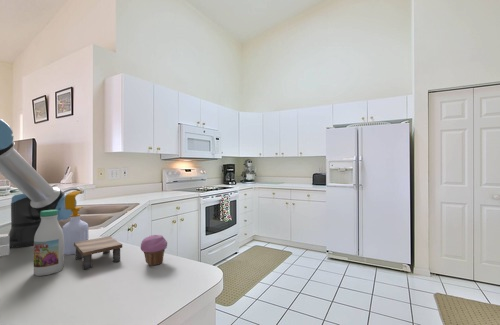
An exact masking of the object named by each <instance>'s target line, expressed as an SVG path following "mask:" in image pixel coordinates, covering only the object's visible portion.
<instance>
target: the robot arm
mask: <svg viewBox="0 0 500 325" xmlns="http://www.w3.org/2000/svg"><path fill="white" fill-rule="evenodd" d="M0 174H1V175H2V176H3V177H4V178H5V179H6V180H8V182H10V183H11V184H12V186H15V187H16V189H17V190H19V191H20V192H21V193H18V194H14V195H12V197H11V201H10V225H11V226H10V230H9V233H8V235H4V236H0V257H4V256H9V255H10V248H22V247H24V248H25V247H29V246H34V236H35V233H36V231H37V229H38V227H39V225H40V223H41V218H40V217H41V216H40V212H41V211H45V210H58V216H57V220H58V222H59V221H65V220H68V219H69V218H70V215H73V212H72V211H71V209H65V196H66V195H67V194H68V193H66V194H65V193H64V192H63V191H62V190H61V189H60V188H59V187H57V186H52V185H50V184H49V182H47V180H46V179H45V178H44V177H43V176H42V175H41V174H40V173H39V172H38V171H37V170H36V169H35V168H34V167H33V166H32V165H31V164H30V163H29V162H28V161H27V160H26V159H25V158H24V157H23V156H22V155H21V154H20V153H19V152H18V150H16V149H15V141H14V135H13V129H12V128H11V126H10V125H9V124H8V123H7V122H6V121H5V120H3V119H1V118H0ZM75 207H77V199H76V198H75Z"/></svg>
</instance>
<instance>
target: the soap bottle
mask: <svg viewBox="0 0 500 325" xmlns="http://www.w3.org/2000/svg"><path fill="white" fill-rule="evenodd" d="M82 193H83V191H82V190H72V191H71V192H69V193H66V194H67V195H66V196H65V209H71V211H72V212H73V215H70V221H68V222H66V223H65V224H64V225H62V227H61V228H62V230H63V236H64V256H69V255H76V248H75V246H74V243H75V242H80V241H86V240H89V224H88V223H87V222H86V221H85V220H81V214H79V211H80V210H81V209H84V206H76V207H75V199H76V197H77V196H78V195H80V194H82Z"/></svg>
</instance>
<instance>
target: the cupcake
mask: <svg viewBox="0 0 500 325" xmlns="http://www.w3.org/2000/svg"><path fill="white" fill-rule="evenodd" d="M167 247H168V240H166V238H165V237H164V236H163V235H162V234H152V235H149V236H146V237H145V238H143V239H142V241H141V243H140V250H141V252H142V253H143V255H144V260H145V263H146V264H147V265H148V266H151V267H152V266H156V265H160V264H162V263H163V262H164V255H165V250H166V249H167Z"/></svg>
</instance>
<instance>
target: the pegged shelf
mask: <svg viewBox="0 0 500 325" xmlns="http://www.w3.org/2000/svg"><path fill="white" fill-rule="evenodd" d="M74 246H75V248H76V254H75V260H76V261H78V260H82V264H83V266H82V269H83V270H85V271H88V270H91V269H92V266H93V264H92V263H93V262H92V261H93V259H92V258H93V257H92V256H93V255H95V254H99V253H102V254H104V255H105V254H110V253H111V251H112V262H113V263H119V262H120V261H121V249H123V243H121V242H120V241H118V240H117V239H116V238H113V237H112V236H110V235H108V236H103V237H97V238H93V239H88V240H86V241H80V242H75V243H74Z"/></svg>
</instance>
